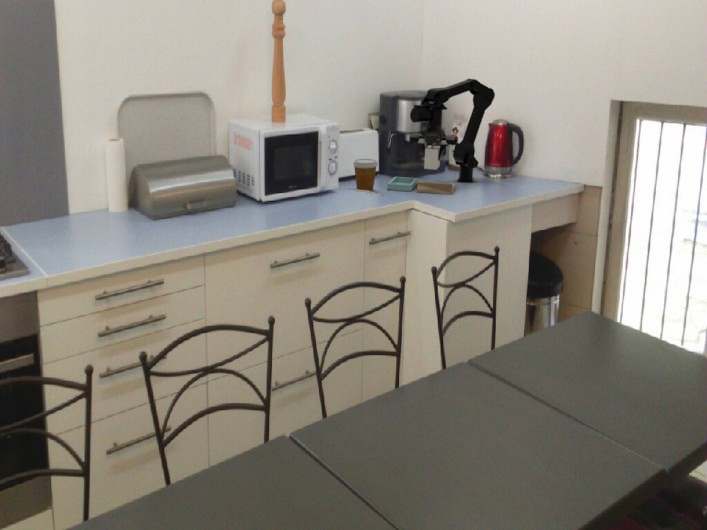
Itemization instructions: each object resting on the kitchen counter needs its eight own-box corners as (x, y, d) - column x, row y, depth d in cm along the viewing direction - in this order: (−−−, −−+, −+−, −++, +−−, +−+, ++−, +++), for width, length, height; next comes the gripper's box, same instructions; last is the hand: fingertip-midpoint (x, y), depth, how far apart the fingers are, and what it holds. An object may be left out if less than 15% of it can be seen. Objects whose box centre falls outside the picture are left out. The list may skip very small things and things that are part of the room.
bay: (421, 186, 309) (422, 176, 307) (455, 188, 305) (455, 178, 304) (417, 192, 299) (417, 182, 298) (451, 194, 296) (452, 184, 294)
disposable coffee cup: (362, 187, 306) (362, 157, 302) (381, 190, 301) (382, 160, 297) (348, 191, 299) (348, 161, 295) (367, 194, 294) (368, 164, 290)
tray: (394, 182, 314) (394, 176, 314) (417, 184, 312) (417, 178, 311) (387, 189, 302) (387, 183, 301) (411, 191, 300) (411, 185, 299)
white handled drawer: (427, 164, 313) (428, 141, 310) (439, 165, 311) (441, 142, 309) (424, 168, 304) (425, 145, 301) (436, 169, 303) (437, 145, 300)
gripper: (407, 122, 297) (406, 162, 302) (455, 125, 293) (452, 165, 298) (412, 119, 307) (411, 157, 312) (458, 121, 303) (456, 160, 308)
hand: (432, 160), depth 307 cm, fingers closed on white handled drawer, 5 cm apart
